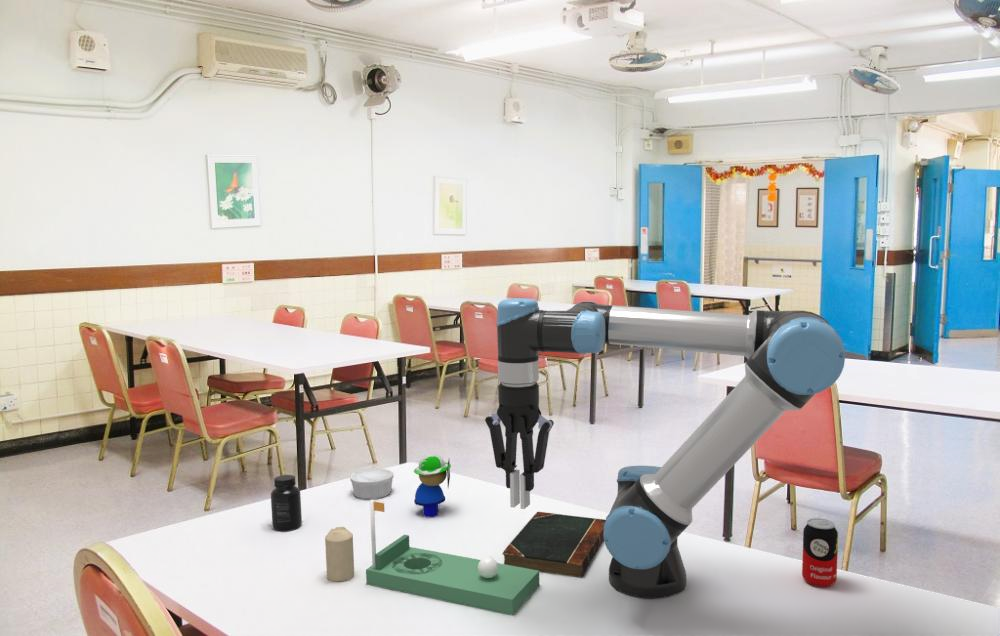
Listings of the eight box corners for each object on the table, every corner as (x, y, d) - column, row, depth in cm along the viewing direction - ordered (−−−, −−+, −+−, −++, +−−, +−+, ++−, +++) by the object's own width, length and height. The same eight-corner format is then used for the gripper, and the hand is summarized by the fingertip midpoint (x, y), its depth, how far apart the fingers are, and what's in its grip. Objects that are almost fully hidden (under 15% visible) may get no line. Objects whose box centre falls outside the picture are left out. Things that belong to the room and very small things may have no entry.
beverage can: (794, 578, 159) (796, 520, 158) (819, 572, 162) (821, 515, 160) (818, 591, 153) (821, 531, 152) (843, 585, 156) (845, 526, 154)
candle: (348, 583, 161) (346, 535, 159) (322, 580, 162) (320, 533, 160) (358, 571, 166) (356, 524, 165) (333, 569, 167) (331, 523, 166)
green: (539, 585, 158) (538, 502, 156) (512, 615, 146) (510, 525, 144) (401, 558, 172) (398, 481, 169) (366, 583, 160) (363, 502, 158)
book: (537, 525, 190) (501, 569, 167) (536, 510, 190) (500, 552, 166) (609, 534, 184) (582, 580, 161) (609, 519, 184) (582, 563, 160)
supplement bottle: (308, 524, 192) (305, 475, 190) (286, 534, 186) (283, 484, 185) (288, 518, 196) (285, 471, 194) (266, 528, 190) (263, 479, 188)
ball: (502, 574, 156) (501, 555, 156) (493, 583, 153) (492, 563, 152) (483, 571, 158) (483, 551, 157) (474, 579, 154) (474, 559, 154)
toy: (450, 519, 193) (449, 459, 191) (412, 519, 194) (410, 459, 192) (453, 506, 202) (451, 448, 200) (416, 506, 202) (415, 449, 200)
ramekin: (345, 500, 208) (344, 480, 207) (359, 486, 219) (358, 467, 218) (386, 502, 206) (385, 482, 206) (399, 487, 217) (398, 469, 216)
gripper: (562, 381, 148) (563, 504, 151) (492, 376, 154) (494, 494, 157) (547, 389, 141) (548, 518, 144) (474, 383, 147) (477, 507, 150)
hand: (520, 505), depth 150 cm, fingers closed
